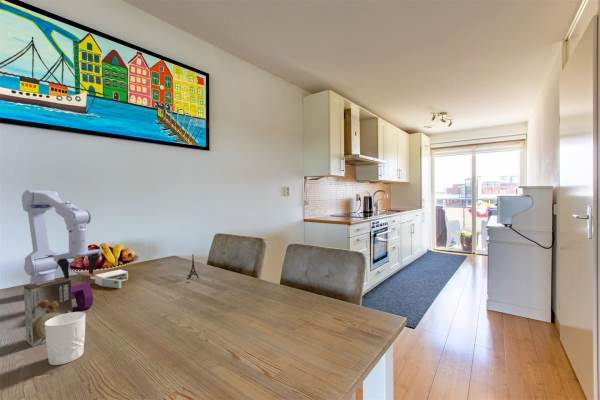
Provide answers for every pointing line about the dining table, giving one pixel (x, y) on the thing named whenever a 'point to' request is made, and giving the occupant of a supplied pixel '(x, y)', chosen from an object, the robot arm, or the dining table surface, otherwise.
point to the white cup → (65, 337)
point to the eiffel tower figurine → (192, 269)
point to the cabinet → (111, 276)
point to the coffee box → (45, 306)
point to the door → (111, 283)
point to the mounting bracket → (82, 295)
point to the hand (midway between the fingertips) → (79, 275)
